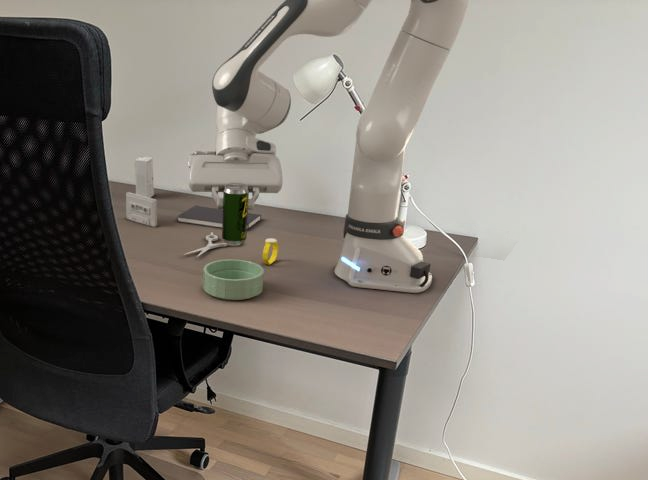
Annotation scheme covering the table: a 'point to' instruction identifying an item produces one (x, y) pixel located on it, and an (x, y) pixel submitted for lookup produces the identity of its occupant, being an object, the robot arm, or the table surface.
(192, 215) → the notebook
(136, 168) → the cosmetic box
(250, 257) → the table surface
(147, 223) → the cassette
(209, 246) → the scissors
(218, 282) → the bowl
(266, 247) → the watch
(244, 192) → the beer can
